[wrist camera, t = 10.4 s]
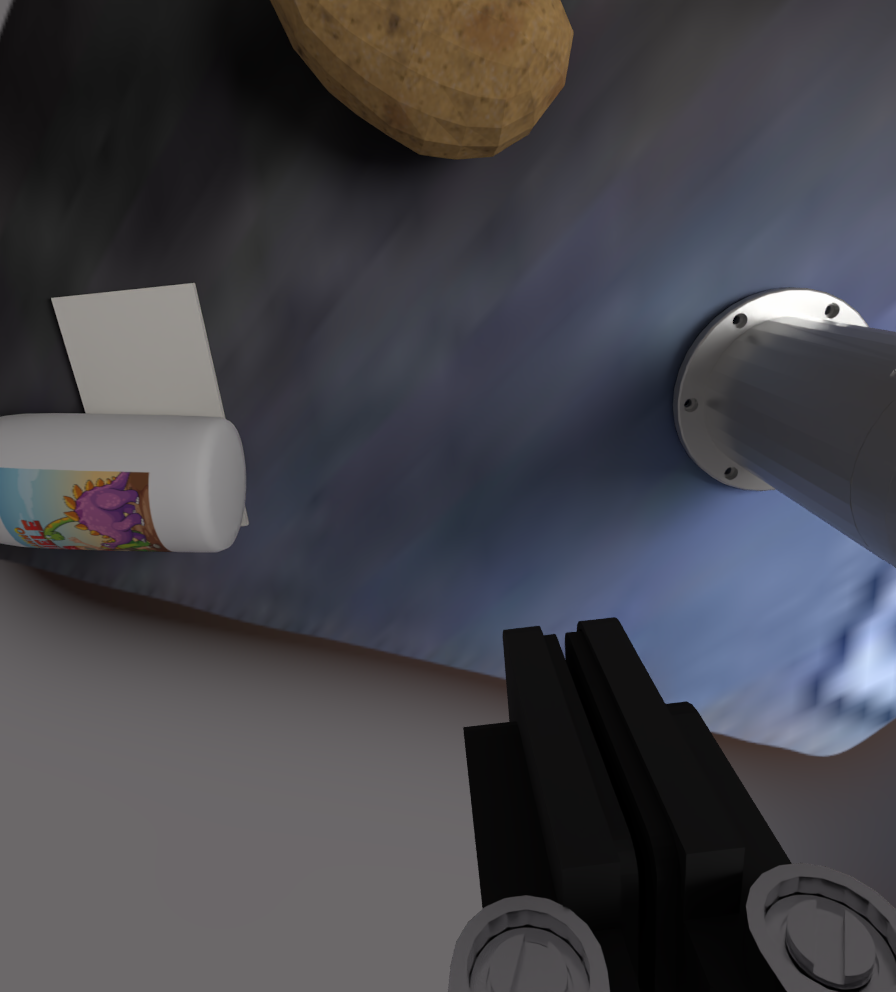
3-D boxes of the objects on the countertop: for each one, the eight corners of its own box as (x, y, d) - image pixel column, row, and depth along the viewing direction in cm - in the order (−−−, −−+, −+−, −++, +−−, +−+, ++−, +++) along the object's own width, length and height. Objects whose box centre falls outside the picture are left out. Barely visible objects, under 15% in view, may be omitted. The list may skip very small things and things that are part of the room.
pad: (194, 283, 38) (192, 283, 37) (249, 523, 43) (247, 525, 42) (54, 297, 37) (51, 298, 37) (126, 536, 43) (123, 539, 42)
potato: (318, -124, 31) (289, -240, 24) (580, 13, 34) (627, -54, 26) (260, 93, 34) (217, 50, 27) (504, 204, 37) (527, 192, 29)
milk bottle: (256, 457, 42) (-55, 450, 42) (221, 389, 35) (-152, 380, 35) (238, 571, 39) (-100, 564, 39) (195, 520, 32) (-216, 511, 32)
